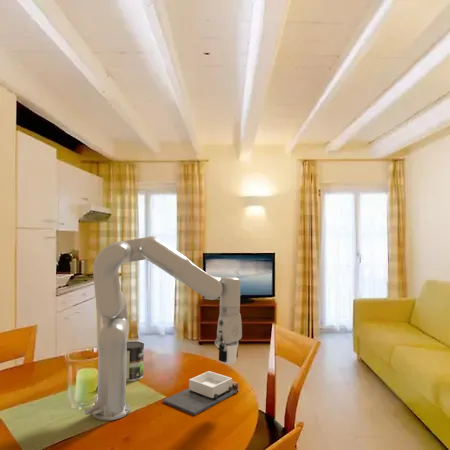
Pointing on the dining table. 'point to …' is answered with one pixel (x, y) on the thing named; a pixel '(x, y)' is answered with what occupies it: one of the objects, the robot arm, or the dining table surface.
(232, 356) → the white tapered cylinder
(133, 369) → the coffee can
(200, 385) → the white tray on base
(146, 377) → the dining table surface
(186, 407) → the dark grey base plate
